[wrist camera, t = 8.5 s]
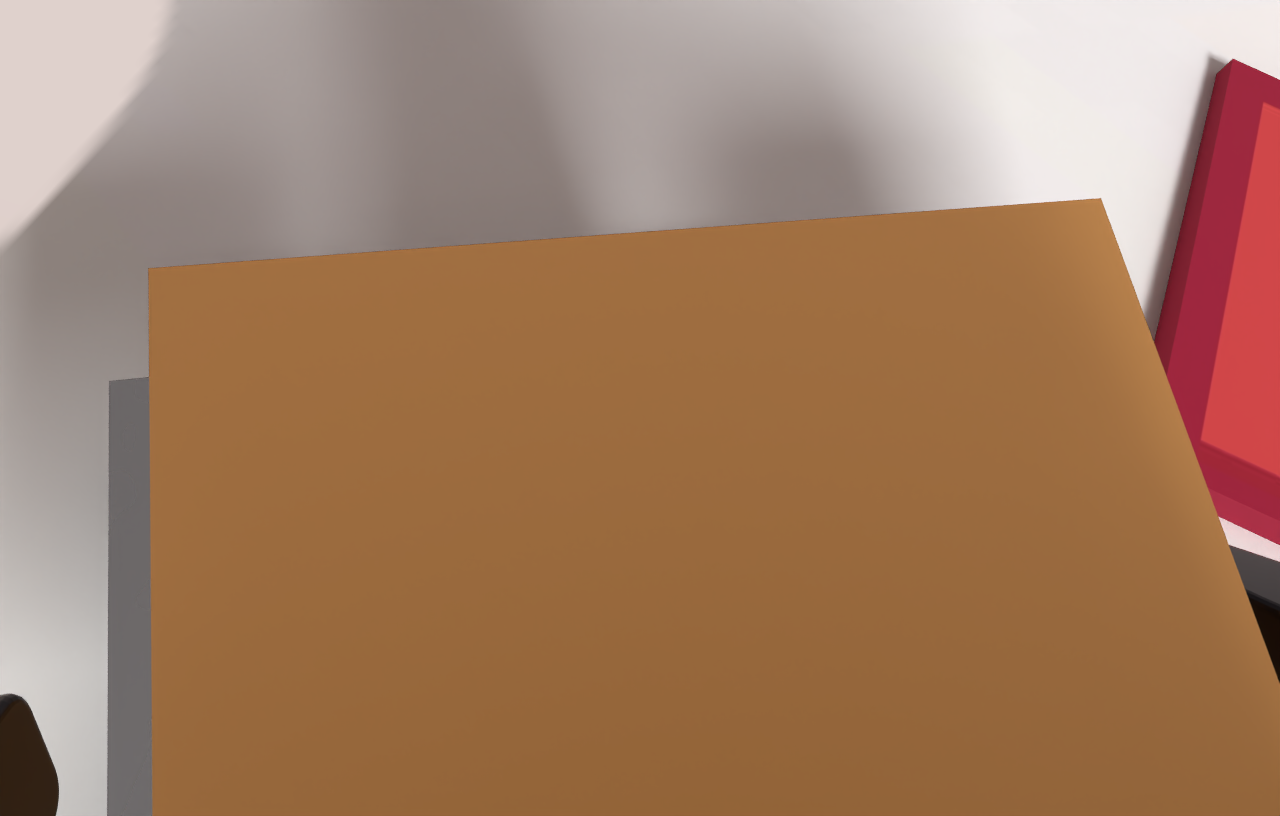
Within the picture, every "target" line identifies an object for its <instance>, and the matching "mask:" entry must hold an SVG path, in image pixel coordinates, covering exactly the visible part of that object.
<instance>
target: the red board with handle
mask: <svg viewBox="0 0 1280 816" xmlns="http://www.w3.org/2000/svg"><path fill="white" fill-rule="evenodd" d="M1154 344H1155V347H1156V349H1157V352H1158V355H1159V357H1160V360H1161V363H1162V366H1163V368H1164V371H1165V374H1166V376H1167V379H1168V382H1169V385H1170V387H1171V390H1172V393H1173V395H1174V398H1175V401H1176V404H1177V406H1178V409H1179V412H1180V414H1181V417H1182V420H1183V422H1184V425H1185V428H1186V431H1187V433H1188V436H1189V439H1190V441H1191V444H1192V447H1193V450H1194V452H1195V455H1196V458H1197V460H1198V463H1199V466H1200V469H1201V471H1202V474H1203V477H1204V479H1205V482H1206V485H1207V488H1208V490H1209V493H1210V496H1211V498H1212V501H1213V504H1214V507H1215V509H1216V512H1217V515H1218V516H1219V517H1221V518H1223V519H1225V520H1227V521H1230V522H1232V523H1234V524H1236V525H1238V526H1240V527H1242V528H1244V529H1247V530H1249V531H1251V532H1253V533H1255V534H1257V535H1259V536H1262V537H1264V538H1266V539H1268V540H1270V541H1272V542H1274V543H1276V544H1279V545H1280V80H1279V79H1277V78H1274V77H1272V76H1270V75H1268V74H1266V73H1263V72H1261V71H1259V70H1257V69H1255V68H1252V67H1250V66H1248V65H1246V64H1244V63H1241V62H1239V61H1237V60H1235V59H1232V60H1231V61H1230V62H1229V63H1228V64H1227V65H1226V66H1225V67H1224V68H1222V69H1221V70H1220V71H1219V72H1218V73H1217V74H1216V79H1215V83H1214V87H1213V91H1212V96H1211V100H1210V104H1209V109H1208V113H1207V117H1206V122H1205V126H1204V130H1203V134H1202V139H1201V143H1200V147H1199V152H1198V156H1197V160H1196V164H1195V169H1194V173H1193V177H1192V182H1191V186H1190V190H1189V195H1188V199H1187V203H1186V207H1185V212H1184V216H1183V220H1182V225H1181V229H1180V233H1179V237H1178V242H1177V246H1176V250H1175V255H1174V259H1173V263H1172V268H1171V272H1170V276H1169V280H1168V285H1167V289H1166V293H1165V298H1164V302H1163V306H1162V310H1161V315H1160V319H1159V323H1158V328H1157V332H1156V336H1155V341H1154Z"/></svg>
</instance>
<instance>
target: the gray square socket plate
mask: <svg viewBox="0 0 1280 816" xmlns="http://www.w3.org/2000/svg"><path fill="white" fill-rule="evenodd" d="M107 816H153V814H152V680H151V546H150V412H149V377H147V378H137V379H126V380H116V381H109V567H108V776H107Z"/></svg>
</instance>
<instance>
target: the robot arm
mask: <svg viewBox="0 0 1280 816" xmlns="http://www.w3.org/2000/svg"><path fill="white" fill-rule="evenodd" d="M1229 547H1230V550H1231V553H1232V555H1233V558H1234V561H1235V564H1236V566H1237V569H1238V572H1239V574H1240V577H1241V580H1242V583H1243V585H1244V588H1245V591H1246V593H1247V596H1248V599H1249V602H1250V604H1251V607H1252V610H1253V612H1254V615H1255V618H1256V621H1257V623H1258V626H1259V629H1260V631H1261V634H1262V637H1263V640H1264V642H1265V645H1266V648H1267V650H1268V653H1269V656H1270V658H1271V661H1272V664H1273V667H1274V669H1275V672H1276V675H1277V677H1278V680H1279V683H1280V562H1278V561H1275V560H1272V559H1269V558H1266V557H1263V556H1260V555H1257V554H1254V553H1251V552H1248V551H1245V550H1242V549H1239V548H1236V547H1233V546H1230V545H1229ZM58 799H59V784H58V778H57V773H56V770H55V767H54V765H53V762H52V760H51V757H50V755H49V752H48V750H47V747H46V745H45V743H44V740H43V738H42V735H41V733H40V730H39V728H38V725H37V723H36V720H35V718H34V716H33V713H32V711H31V709H30V707H29V705H28V703H27V702H26V701H25V700H24V699H23V698H22V697H20V696H18V695H15V694H3V695H0V816H56V812H57V807H58Z"/></svg>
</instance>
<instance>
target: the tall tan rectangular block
mask: <svg viewBox="0 0 1280 816" xmlns="http://www.w3.org/2000/svg"><path fill="white" fill-rule="evenodd" d="M148 279H149V412H150V546H151V680H152V814H153V816H1280V683H1279V680H1278V677H1277V675H1276V672H1275V669H1274V667H1273V664H1272V661H1271V658H1270V656H1269V653H1268V650H1267V648H1266V645H1265V642H1264V640H1263V637H1262V634H1261V631H1260V629H1259V626H1258V623H1257V621H1256V618H1255V615H1254V612H1253V610H1252V607H1251V604H1250V602H1249V599H1248V596H1247V593H1246V591H1245V588H1244V585H1243V583H1242V580H1241V577H1240V574H1239V572H1238V569H1237V566H1236V564H1235V561H1234V558H1233V555H1232V553H1231V550H1230V547H1229V545H1228V542H1227V539H1226V536H1225V534H1224V531H1223V528H1222V526H1221V523H1220V520H1219V517H1218V515H1217V512H1216V509H1215V507H1214V504H1213V501H1212V498H1211V496H1210V493H1209V490H1208V488H1207V485H1206V482H1205V479H1204V477H1203V474H1202V471H1201V469H1200V466H1199V463H1198V460H1197V458H1196V455H1195V452H1194V450H1193V447H1192V444H1191V441H1190V439H1189V436H1188V433H1187V431H1186V428H1185V425H1184V422H1183V420H1182V417H1181V414H1180V412H1179V409H1178V406H1177V404H1176V401H1175V398H1174V395H1173V393H1172V390H1171V387H1170V385H1169V382H1168V379H1167V376H1166V374H1165V371H1164V368H1163V366H1162V363H1161V360H1160V357H1159V355H1158V352H1157V349H1156V347H1155V344H1154V341H1153V338H1152V336H1151V333H1150V330H1149V328H1148V325H1147V322H1146V319H1145V317H1144V314H1143V311H1142V309H1141V306H1140V303H1139V300H1138V298H1137V295H1136V292H1135V290H1134V287H1133V284H1132V281H1131V279H1130V276H1129V273H1128V271H1127V268H1126V265H1125V262H1124V260H1123V257H1122V254H1121V252H1120V249H1119V246H1118V243H1117V241H1116V238H1115V235H1114V233H1113V230H1112V227H1111V224H1110V222H1109V219H1108V216H1107V214H1106V211H1105V208H1104V205H1103V203H1102V200H1101V198H1099V199H1085V200H1072V201H1058V202H1044V203H1031V204H1017V205H1003V206H990V207H976V208H963V209H949V210H935V211H922V212H908V213H894V214H881V215H867V216H854V217H840V218H826V219H813V220H799V221H786V222H772V223H758V224H745V225H731V226H717V227H704V228H690V229H677V230H663V231H649V232H636V233H622V234H609V235H595V236H581V237H568V238H554V239H540V240H527V241H513V242H500V243H486V244H472V245H459V246H445V247H432V248H418V249H404V250H391V251H377V252H363V253H350V254H336V255H323V256H309V257H295V258H282V259H268V260H254V261H241V262H227V263H214V264H200V265H186V266H173V267H159V268H148Z"/></svg>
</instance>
